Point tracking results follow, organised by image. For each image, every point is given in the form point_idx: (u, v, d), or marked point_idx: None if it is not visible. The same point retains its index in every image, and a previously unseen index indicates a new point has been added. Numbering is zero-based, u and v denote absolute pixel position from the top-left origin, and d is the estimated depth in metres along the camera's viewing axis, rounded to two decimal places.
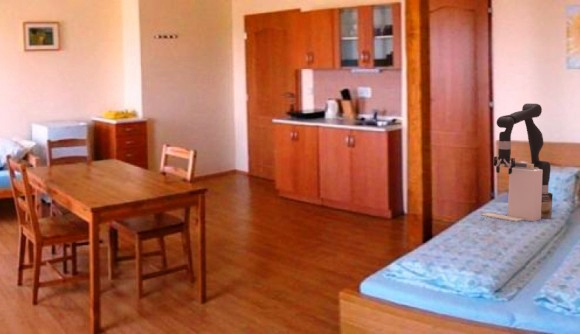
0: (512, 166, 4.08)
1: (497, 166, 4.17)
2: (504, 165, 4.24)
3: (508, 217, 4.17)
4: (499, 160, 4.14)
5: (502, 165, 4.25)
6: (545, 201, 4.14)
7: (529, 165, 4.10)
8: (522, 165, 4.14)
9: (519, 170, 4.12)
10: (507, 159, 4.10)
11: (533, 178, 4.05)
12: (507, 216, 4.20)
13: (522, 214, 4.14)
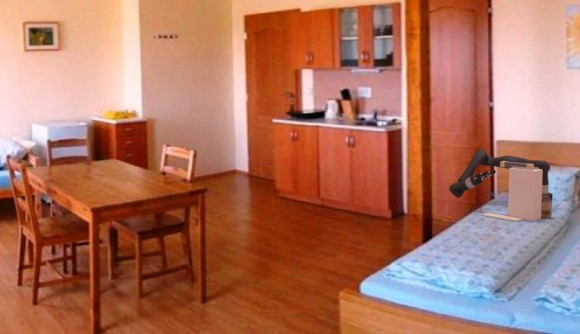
0: (480, 177, 4.33)
1: (491, 174, 4.39)
2: (504, 165, 4.24)
3: (508, 217, 4.17)
4: (485, 178, 4.41)
5: (502, 165, 4.25)
6: (545, 201, 4.14)
7: (529, 165, 4.10)
8: (522, 165, 4.14)
9: (519, 170, 4.12)
10: (479, 179, 4.39)
11: (533, 178, 4.05)
12: (507, 216, 4.20)
13: (522, 214, 4.14)
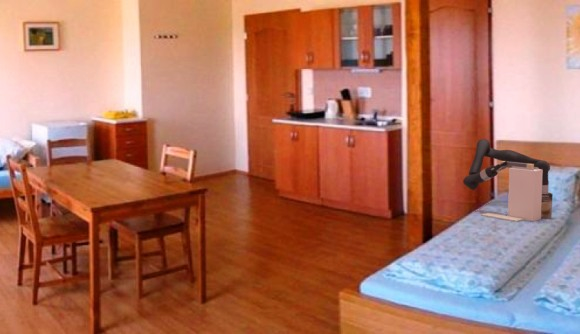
0: (499, 167, 4.24)
1: None
2: None
3: (508, 217, 4.17)
4: None
5: None
6: (545, 201, 4.14)
7: (529, 165, 4.10)
8: (522, 165, 4.14)
9: (519, 170, 4.12)
10: (494, 170, 4.29)
11: (533, 178, 4.05)
12: (507, 216, 4.20)
13: (522, 214, 4.14)
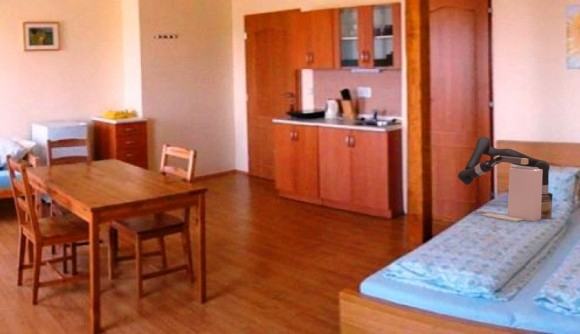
0: (493, 162, 4.20)
1: None
2: (499, 160, 4.20)
3: (508, 217, 4.17)
4: (495, 164, 4.27)
5: None
6: (545, 201, 4.14)
7: (523, 160, 4.06)
8: (516, 160, 4.10)
9: (519, 170, 4.12)
10: (489, 165, 4.25)
11: (533, 178, 4.05)
12: (507, 216, 4.20)
13: (522, 214, 4.14)
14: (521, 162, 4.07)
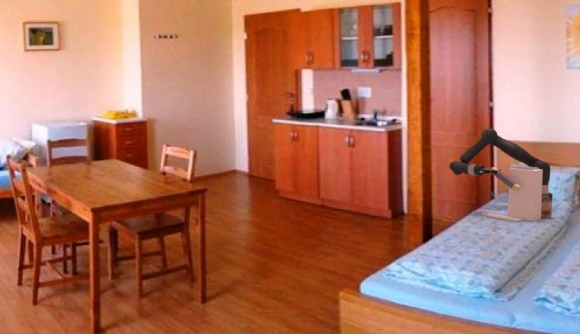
0: (487, 173, 4.20)
1: None
2: None
3: (508, 217, 4.17)
4: None
5: None
6: (545, 201, 4.14)
7: (516, 187, 4.08)
8: (509, 183, 4.11)
9: (519, 170, 4.12)
10: None
11: (533, 178, 4.05)
12: (507, 216, 4.20)
13: (522, 214, 4.14)
14: (512, 187, 4.10)
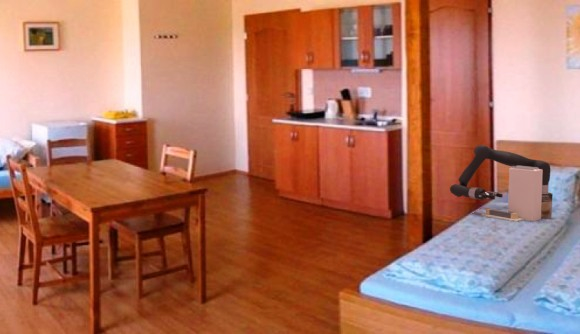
0: (485, 198, 4.21)
1: (496, 196, 4.26)
2: (489, 213, 4.25)
3: None
4: None
5: (487, 213, 4.27)
6: (545, 201, 4.14)
7: (513, 214, 4.11)
8: (506, 214, 4.15)
9: (519, 170, 4.12)
10: None
11: (533, 178, 4.05)
12: None
13: (522, 214, 4.14)
14: (511, 217, 4.13)
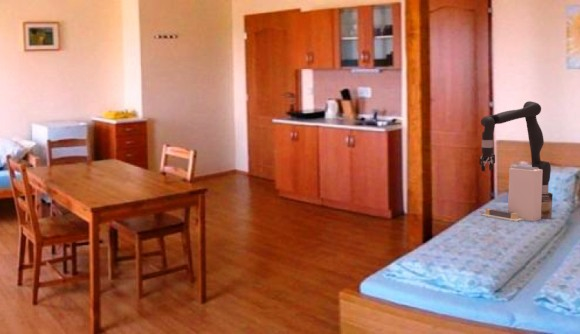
0: (479, 163, 4.31)
1: (489, 163, 4.37)
2: (489, 213, 4.25)
3: None
4: None
5: (487, 213, 4.27)
6: (545, 201, 4.14)
7: (513, 214, 4.11)
8: (506, 214, 4.15)
9: (519, 170, 4.12)
10: None
11: (533, 178, 4.05)
12: None
13: (522, 214, 4.14)
14: (511, 217, 4.13)
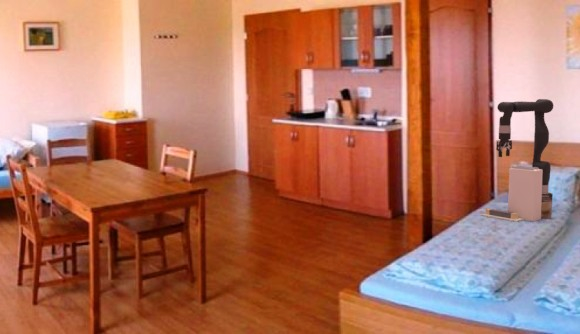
0: None
1: (506, 149, 4.33)
2: (489, 213, 4.25)
3: None
4: None
5: (487, 213, 4.27)
6: (545, 201, 4.14)
7: (513, 214, 4.11)
8: (506, 214, 4.15)
9: (519, 170, 4.12)
10: None
11: (533, 178, 4.05)
12: None
13: (522, 214, 4.14)
14: (511, 217, 4.13)
